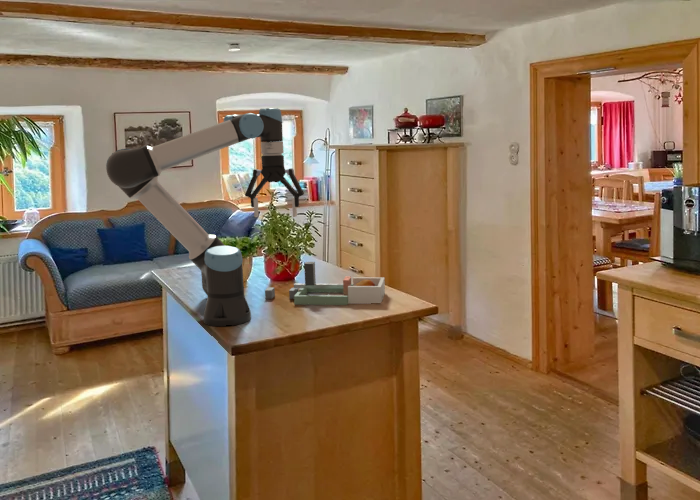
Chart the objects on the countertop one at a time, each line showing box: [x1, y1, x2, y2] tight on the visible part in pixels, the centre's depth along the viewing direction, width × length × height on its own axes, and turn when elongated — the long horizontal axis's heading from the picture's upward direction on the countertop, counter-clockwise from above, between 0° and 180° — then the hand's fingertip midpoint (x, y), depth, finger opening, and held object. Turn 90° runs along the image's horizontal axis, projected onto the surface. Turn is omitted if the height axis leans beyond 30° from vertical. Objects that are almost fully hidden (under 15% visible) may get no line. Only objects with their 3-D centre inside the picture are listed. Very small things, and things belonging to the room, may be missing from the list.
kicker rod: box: [293, 261, 352, 296], centre depth 230 cm, size 20×6×12 cm, turn 82°
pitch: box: [264, 283, 353, 306], centre depth 231 cm, size 31×18×3 cm, turn 82°
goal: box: [348, 276, 386, 305], centre depth 228 cm, size 12×14×6 cm
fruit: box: [355, 280, 375, 286], centre depth 228 cm, size 8×8×8 cm
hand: (275, 216), depth 221 cm, fingers open, 13 cm apart
